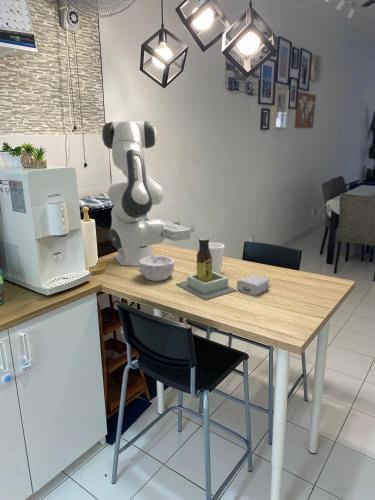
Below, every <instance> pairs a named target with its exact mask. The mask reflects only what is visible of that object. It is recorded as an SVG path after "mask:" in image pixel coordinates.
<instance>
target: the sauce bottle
mask: <svg viewBox="0 0 375 500" xmlns="http://www.w3.org/2000/svg"><path fill="white" fill-rule="evenodd" d="M198 243H199V245H198V246H199V248H198V251H197V253H196V274H197V279H198V280H200V281H202V282H204V283H207V282H210V281H212V256H211V254H210V251H209V244H208V243H210V238H208V237H200V238H199V239H198Z"/></svg>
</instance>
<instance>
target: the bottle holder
mask: <svg viewBox="0 0 375 500" xmlns="http://www.w3.org/2000/svg"><path fill="white" fill-rule="evenodd" d="M186 279H187V280H186V281H187V285H188V286H190V287H192V288H194V289H196V290H197V291H199V292H201V293H203V294H206V293H209V292H213V291H216V290H220V289H223V288H227V287H228V286H229V277H227V276H225V275H223V274H221V273H220V274H218V273H216V272H213V271H212V281H210V282H207V283H204V282H202V281H200V280H198V279H197V273H194V274H191V275H187V276H186Z"/></svg>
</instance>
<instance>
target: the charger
mask: <svg viewBox="0 0 375 500" xmlns="http://www.w3.org/2000/svg"><path fill="white" fill-rule="evenodd" d="M269 282H270V279H269V278H268V277H265V276H257V275H254V274H249V275H246V276H245V277H243V278H241V279H239V280H237V282H236V290H237V291H239V292H242V293H246V294H248V295H250V296H251V295H252V296H259V294H262V293H264V292H265V291H267V290H268V289H269Z"/></svg>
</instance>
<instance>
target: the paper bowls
mask: <svg viewBox="0 0 375 500" xmlns="http://www.w3.org/2000/svg"><path fill="white" fill-rule="evenodd" d="M138 267H139V268H138V269H139V273H140V274H142V275H144V277H145V279H147V280H149V281H153V282H154V281H155V282H157V281H158V282H159V281H165V280H167V279H168V278H169V277H170V275H172V274H173V273H174V272H175V260H174V258H172V257H168V256H164V255H163V256H161V255H153V256H151V257H145V258H143V259H141V260H140V261H139V266H138Z"/></svg>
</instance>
